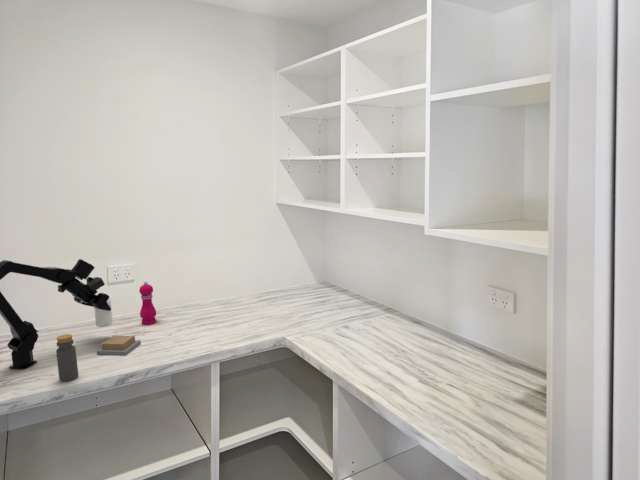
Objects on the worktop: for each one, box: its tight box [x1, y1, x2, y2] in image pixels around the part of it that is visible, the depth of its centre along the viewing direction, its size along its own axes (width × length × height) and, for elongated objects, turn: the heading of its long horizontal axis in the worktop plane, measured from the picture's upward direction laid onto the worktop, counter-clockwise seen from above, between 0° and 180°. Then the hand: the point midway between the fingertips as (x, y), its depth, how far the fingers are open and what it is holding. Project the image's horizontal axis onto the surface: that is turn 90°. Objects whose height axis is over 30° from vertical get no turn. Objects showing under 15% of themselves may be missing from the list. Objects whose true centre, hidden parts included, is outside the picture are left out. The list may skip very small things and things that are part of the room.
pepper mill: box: [138, 280, 157, 326], centre depth 216 cm, size 7×7×20 cm
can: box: [93, 297, 113, 328], centre depth 196 cm, size 6×6×12 cm
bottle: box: [55, 333, 79, 382], centre depth 159 cm, size 6×6×15 cm
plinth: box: [95, 334, 141, 356], centre depth 185 cm, size 12×12×4 cm
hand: (106, 308), depth 197 cm, fingers closed on can, 6 cm apart
